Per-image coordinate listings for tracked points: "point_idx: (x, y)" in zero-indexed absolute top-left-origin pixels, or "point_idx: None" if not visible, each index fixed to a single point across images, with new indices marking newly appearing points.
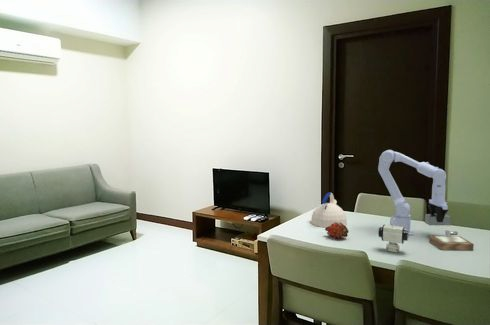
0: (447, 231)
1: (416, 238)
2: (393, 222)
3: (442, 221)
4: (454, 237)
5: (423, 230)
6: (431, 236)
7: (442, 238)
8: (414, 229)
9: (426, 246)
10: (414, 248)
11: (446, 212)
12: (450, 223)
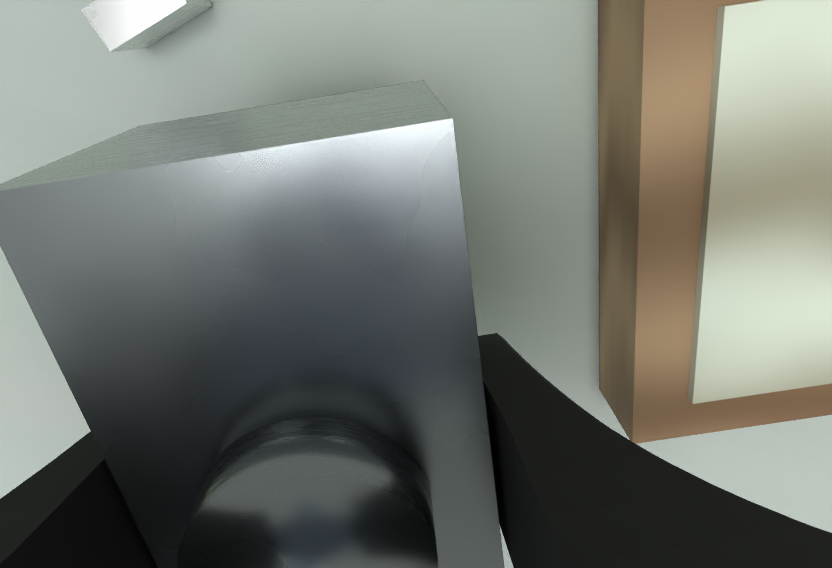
0: (157, 21)
1: None
2: None
3: (508, 347)
4: (768, 115)
5: (26, 332)
6: (661, 427)
7: (801, 328)
8: (27, 434)
9: (759, 450)
10: None
11: (765, 515)
12: (426, 86)
